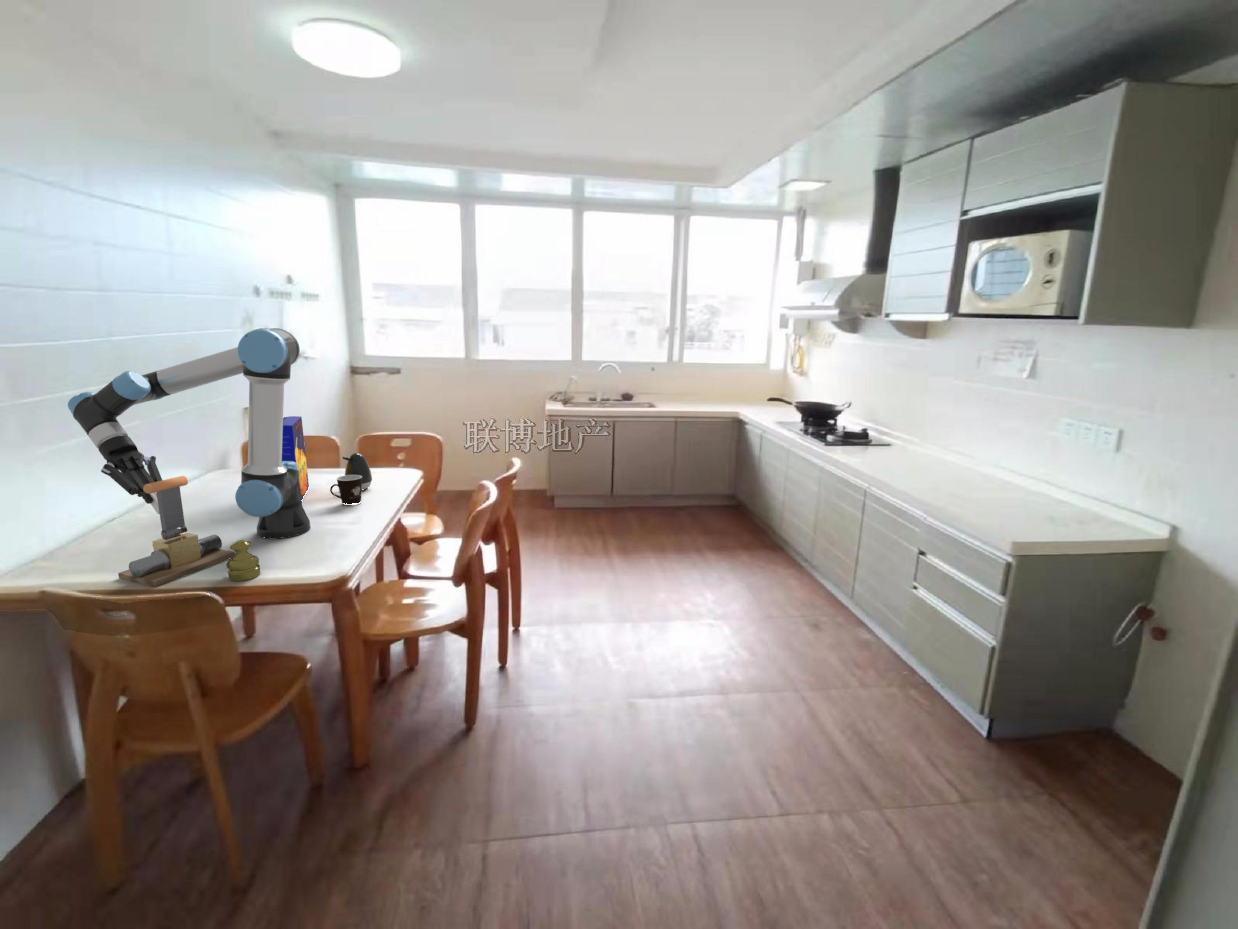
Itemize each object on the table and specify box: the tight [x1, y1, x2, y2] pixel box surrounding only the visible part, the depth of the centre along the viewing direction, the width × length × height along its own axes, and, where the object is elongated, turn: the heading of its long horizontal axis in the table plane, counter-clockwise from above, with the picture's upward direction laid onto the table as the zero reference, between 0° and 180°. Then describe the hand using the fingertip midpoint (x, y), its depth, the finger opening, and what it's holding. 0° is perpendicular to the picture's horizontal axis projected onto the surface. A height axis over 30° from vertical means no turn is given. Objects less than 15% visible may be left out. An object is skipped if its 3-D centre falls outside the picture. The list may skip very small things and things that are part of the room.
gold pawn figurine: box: [226, 539, 261, 582], centre depth 159 cm, size 7×7×10 cm
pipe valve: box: [117, 532, 236, 588], centre depth 164 cm, size 14×22×8 cm, turn 160°
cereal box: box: [282, 415, 310, 500], centre depth 228 cm, size 22×6×30 cm, turn 19°
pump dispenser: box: [342, 452, 373, 490], centre depth 242 cm, size 10×10×15 cm
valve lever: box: [143, 475, 189, 540], centre depth 161 cm, size 3×10×16 cm, turn 160°
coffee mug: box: [329, 474, 362, 504], centre depth 223 cm, size 12×9×10 cm
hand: (163, 510), depth 162 cm, fingers closed
